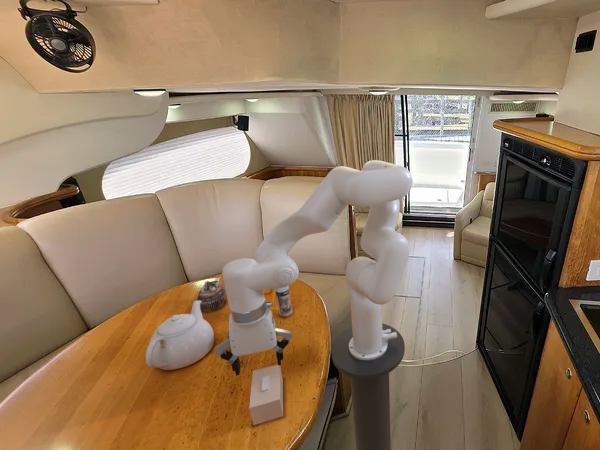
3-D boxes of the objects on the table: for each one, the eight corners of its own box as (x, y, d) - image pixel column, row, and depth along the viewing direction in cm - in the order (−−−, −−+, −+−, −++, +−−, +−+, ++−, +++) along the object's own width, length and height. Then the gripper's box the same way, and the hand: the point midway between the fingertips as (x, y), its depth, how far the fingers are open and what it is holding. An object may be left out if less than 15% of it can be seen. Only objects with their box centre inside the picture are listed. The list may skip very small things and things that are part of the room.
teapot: (144, 352, 100) (130, 317, 95) (208, 325, 112) (198, 293, 107) (155, 387, 88) (140, 349, 83) (225, 352, 100) (216, 317, 95)
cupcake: (203, 300, 126) (197, 279, 123) (229, 297, 129) (224, 276, 125) (195, 315, 118) (189, 292, 114) (224, 310, 120) (218, 288, 116)
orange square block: (249, 296, 129) (247, 287, 127) (251, 286, 136) (249, 278, 135) (270, 292, 131) (268, 284, 130) (271, 283, 138) (269, 274, 137)
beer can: (282, 319, 115) (277, 291, 111) (277, 312, 119) (272, 285, 114) (294, 313, 118) (290, 286, 114) (290, 307, 122) (285, 281, 117)
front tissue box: (256, 386, 88) (252, 369, 85) (282, 379, 90) (279, 362, 88) (253, 425, 77) (248, 406, 75) (283, 416, 79) (279, 397, 77)
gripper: (287, 294, 79) (294, 348, 85) (210, 307, 74) (223, 364, 80) (288, 312, 72) (295, 368, 78) (203, 327, 67) (218, 387, 73)
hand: (259, 366), depth 79 cm, fingers open, 9 cm apart
